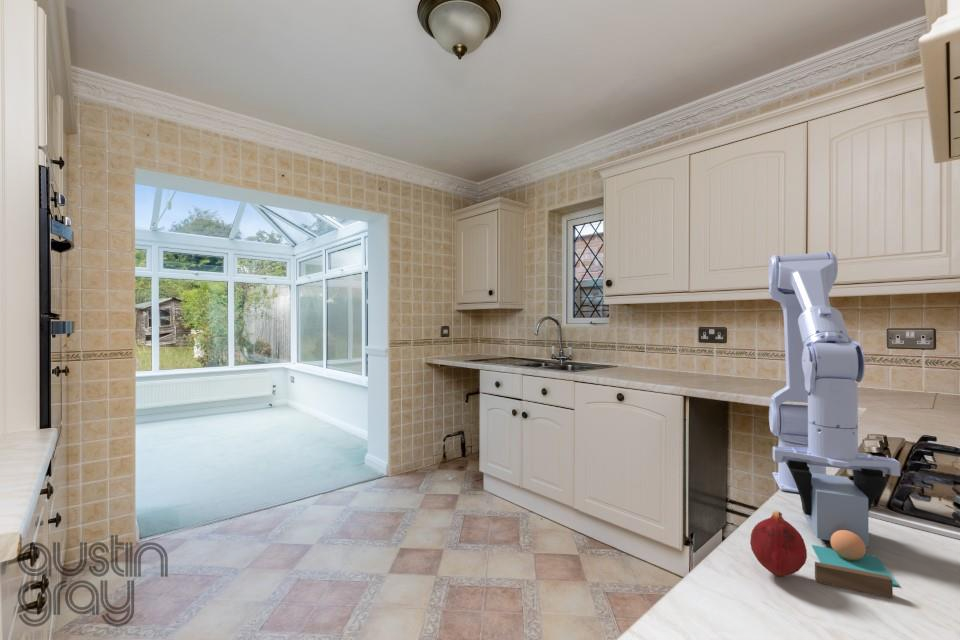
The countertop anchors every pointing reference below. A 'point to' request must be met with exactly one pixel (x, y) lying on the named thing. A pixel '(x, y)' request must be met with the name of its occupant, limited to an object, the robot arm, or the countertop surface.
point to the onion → (778, 546)
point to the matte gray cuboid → (837, 507)
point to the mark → (852, 562)
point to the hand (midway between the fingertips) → (832, 516)
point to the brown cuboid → (854, 579)
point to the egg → (848, 545)
